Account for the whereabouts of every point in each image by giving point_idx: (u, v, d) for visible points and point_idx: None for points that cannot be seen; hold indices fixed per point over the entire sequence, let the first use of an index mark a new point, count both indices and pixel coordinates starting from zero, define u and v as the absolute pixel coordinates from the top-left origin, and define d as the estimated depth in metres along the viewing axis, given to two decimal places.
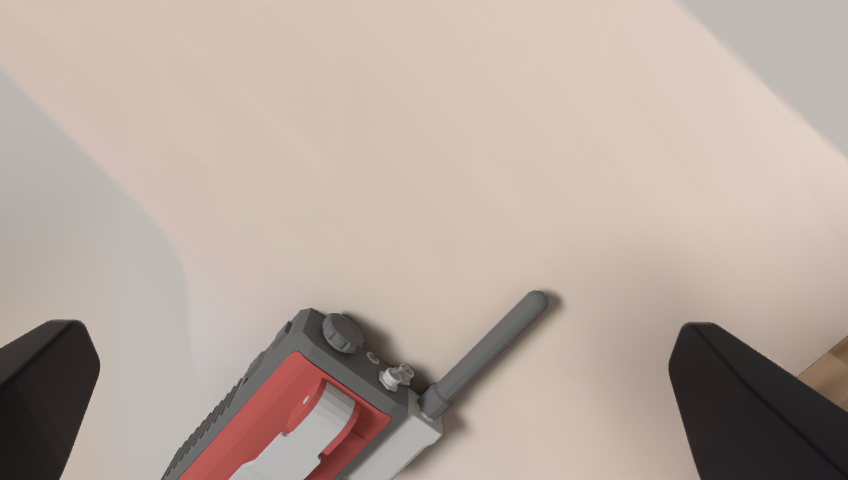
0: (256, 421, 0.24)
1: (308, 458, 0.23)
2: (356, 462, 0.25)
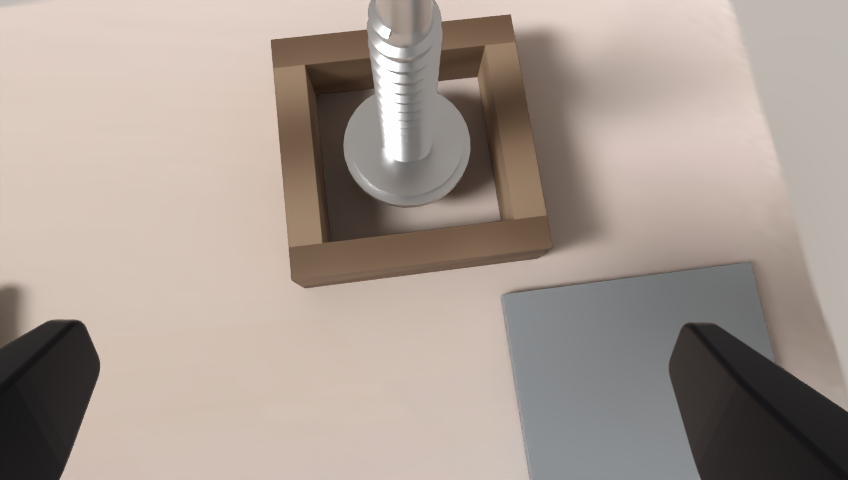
0: None
1: None
2: None
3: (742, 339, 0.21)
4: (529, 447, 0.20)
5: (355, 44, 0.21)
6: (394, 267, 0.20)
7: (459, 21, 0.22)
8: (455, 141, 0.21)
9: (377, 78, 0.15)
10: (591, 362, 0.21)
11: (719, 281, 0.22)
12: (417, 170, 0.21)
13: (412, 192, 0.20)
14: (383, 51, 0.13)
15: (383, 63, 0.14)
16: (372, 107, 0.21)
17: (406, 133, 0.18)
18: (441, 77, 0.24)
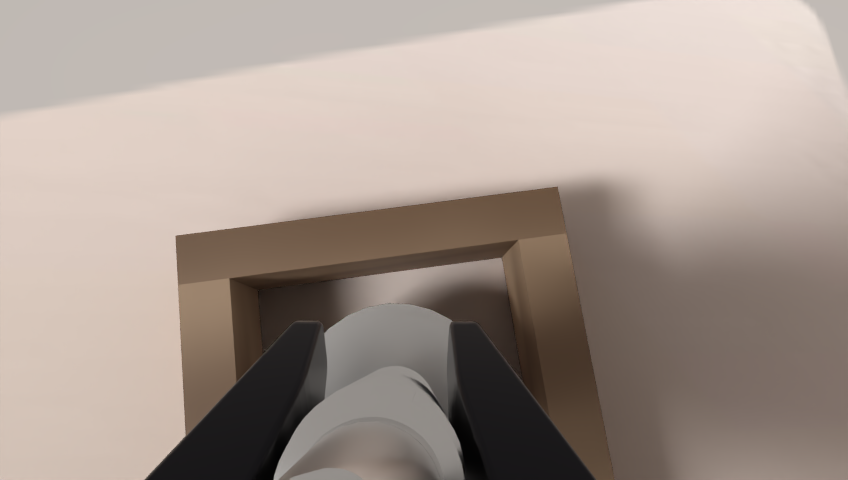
0: None
1: None
2: None
3: None
4: None
5: (310, 241, 0.13)
6: None
7: (477, 200, 0.14)
8: None
9: None
10: None
11: None
12: None
13: None
14: None
15: None
16: (338, 348, 0.13)
17: None
18: (448, 263, 0.16)
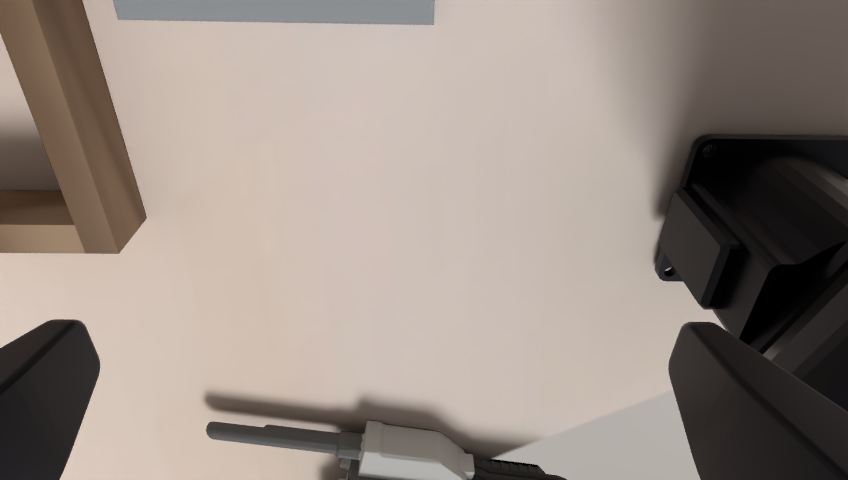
0: None
1: None
2: None
3: None
4: (299, 20, 0.18)
5: None
6: (88, 160, 0.18)
7: None
8: None
9: None
10: None
11: None
12: None
13: None
14: None
15: None
16: None
17: None
18: None
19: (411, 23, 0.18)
